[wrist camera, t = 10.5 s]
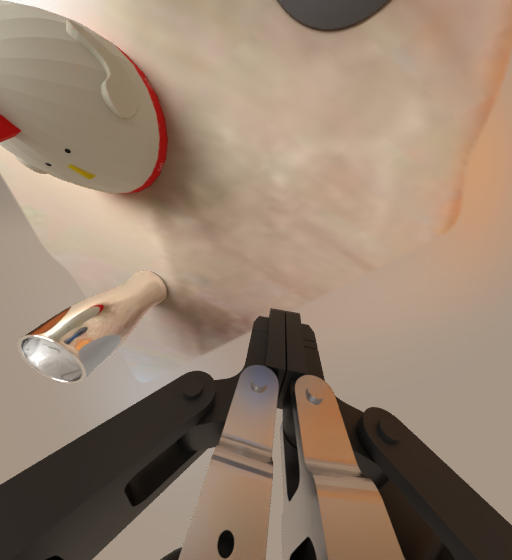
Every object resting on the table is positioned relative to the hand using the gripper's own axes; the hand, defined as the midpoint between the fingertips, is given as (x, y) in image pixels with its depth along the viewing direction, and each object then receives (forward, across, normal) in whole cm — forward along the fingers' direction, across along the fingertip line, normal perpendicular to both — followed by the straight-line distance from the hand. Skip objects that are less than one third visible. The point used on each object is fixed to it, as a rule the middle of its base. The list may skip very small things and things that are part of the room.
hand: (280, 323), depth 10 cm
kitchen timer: (+17, +22, -10) cm, 30 cm away
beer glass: (+17, +20, +11) cm, 29 cm away
